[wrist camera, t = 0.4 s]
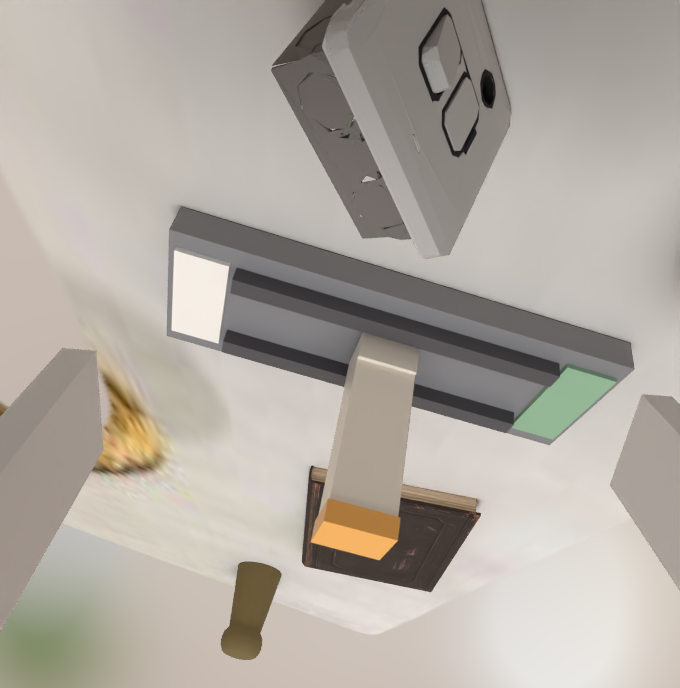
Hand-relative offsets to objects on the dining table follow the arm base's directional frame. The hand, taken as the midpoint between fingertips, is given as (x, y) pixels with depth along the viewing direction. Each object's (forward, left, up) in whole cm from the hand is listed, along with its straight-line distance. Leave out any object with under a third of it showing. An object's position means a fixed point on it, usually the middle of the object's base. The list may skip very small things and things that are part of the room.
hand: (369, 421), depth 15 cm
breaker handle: (+17, +4, -16) cm, 24 cm away
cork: (+73, +3, -18) cm, 76 cm away
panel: (+17, +4, -18) cm, 26 cm away
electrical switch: (-1, 0, -19) cm, 19 cm away
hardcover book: (+49, +13, -19) cm, 55 cm away
